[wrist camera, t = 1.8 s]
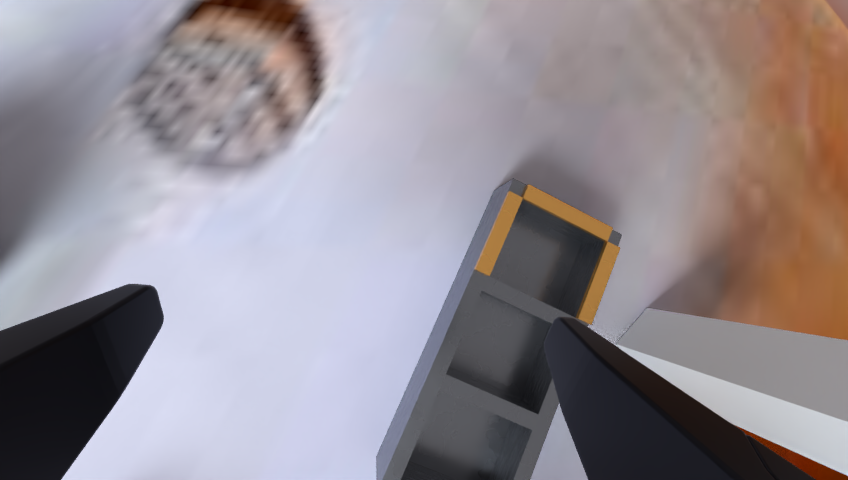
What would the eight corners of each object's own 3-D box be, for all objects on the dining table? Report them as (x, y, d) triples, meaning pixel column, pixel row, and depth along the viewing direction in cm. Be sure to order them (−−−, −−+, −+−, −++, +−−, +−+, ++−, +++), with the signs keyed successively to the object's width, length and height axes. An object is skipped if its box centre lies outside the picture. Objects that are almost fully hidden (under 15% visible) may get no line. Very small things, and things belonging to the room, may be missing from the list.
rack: (486, 499, 23) (508, 546, 19) (376, 456, 22) (376, 496, 18) (588, 238, 25) (625, 234, 21) (494, 190, 24) (515, 177, 21)
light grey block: (656, 389, 25) (926, 511, 13) (615, 344, 25) (850, 422, 13) (686, 352, 26) (971, 434, 13) (647, 307, 26) (899, 348, 13)
